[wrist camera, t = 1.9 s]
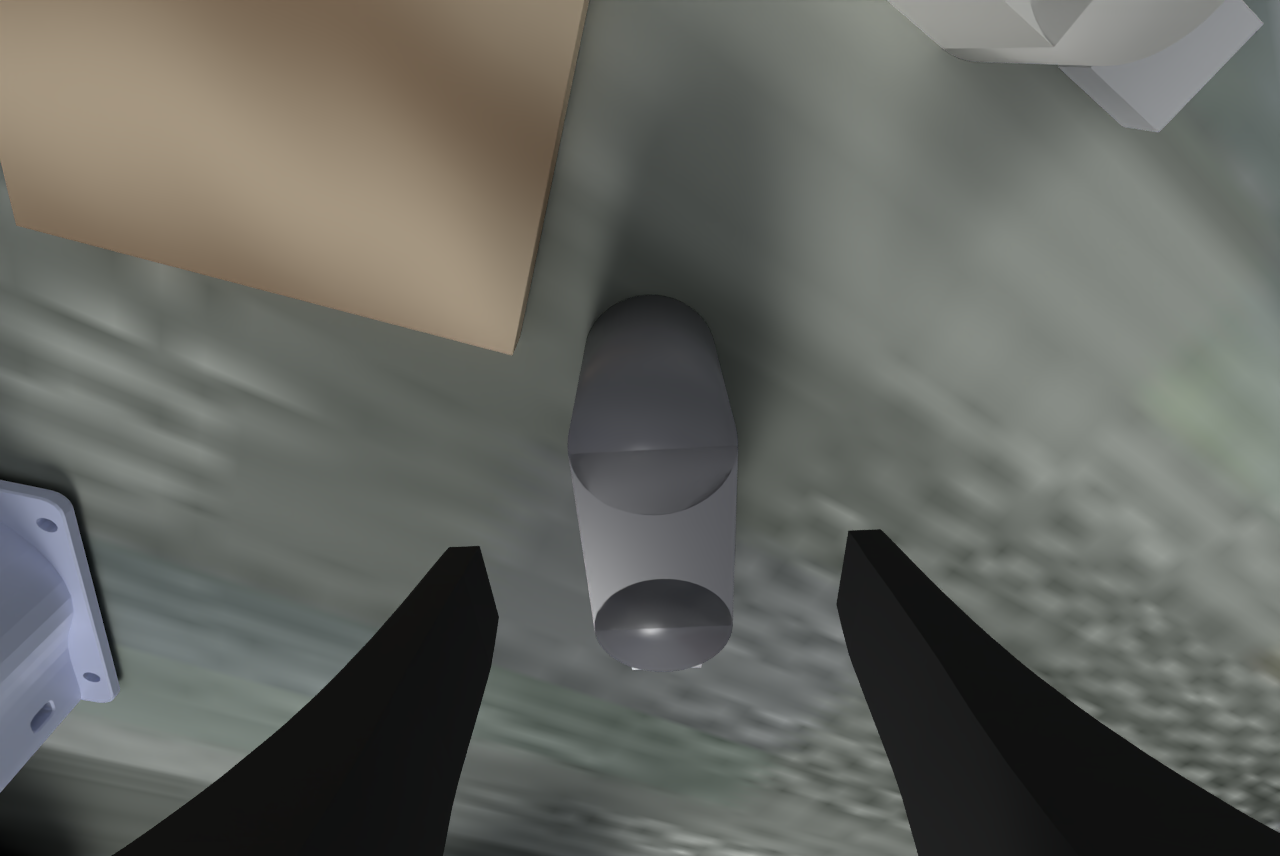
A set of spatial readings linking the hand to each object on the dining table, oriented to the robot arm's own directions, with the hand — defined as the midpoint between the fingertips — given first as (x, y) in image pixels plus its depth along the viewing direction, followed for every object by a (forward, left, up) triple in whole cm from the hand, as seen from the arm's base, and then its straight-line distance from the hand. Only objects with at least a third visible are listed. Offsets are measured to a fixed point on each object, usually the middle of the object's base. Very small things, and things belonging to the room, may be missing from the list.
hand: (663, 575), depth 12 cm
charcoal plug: (-1, 0, -5) cm, 5 cm away
